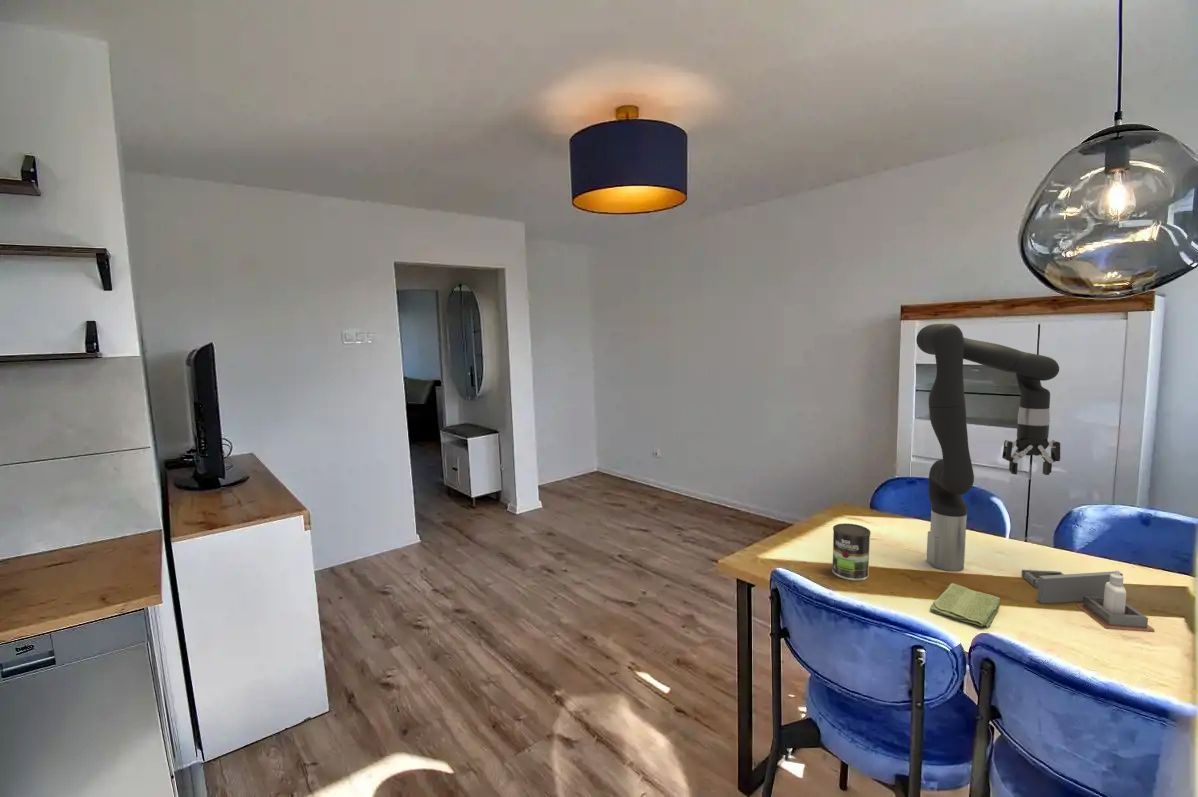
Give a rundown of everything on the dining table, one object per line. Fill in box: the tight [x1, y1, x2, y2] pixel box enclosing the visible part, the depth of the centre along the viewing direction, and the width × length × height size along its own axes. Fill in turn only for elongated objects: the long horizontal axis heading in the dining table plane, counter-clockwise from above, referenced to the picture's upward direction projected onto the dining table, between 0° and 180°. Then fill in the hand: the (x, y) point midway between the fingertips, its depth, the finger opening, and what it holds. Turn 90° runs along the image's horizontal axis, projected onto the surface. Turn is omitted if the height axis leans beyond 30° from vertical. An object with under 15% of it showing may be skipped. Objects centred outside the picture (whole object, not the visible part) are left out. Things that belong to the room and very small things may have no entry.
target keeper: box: [1076, 596, 1155, 632], centre depth 135 cm, size 10×11×3 cm
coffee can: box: [831, 523, 871, 582], centre depth 164 cm, size 10×10×14 cm
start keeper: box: [1021, 569, 1064, 590], centre depth 154 cm, size 10×8×2 cm
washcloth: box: [929, 583, 1001, 629], centre depth 142 cm, size 13×18×3 cm
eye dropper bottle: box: [1103, 569, 1127, 614], centre depth 135 cm, size 4×6×12 cm
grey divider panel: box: [1037, 570, 1124, 604], centre depth 144 cm, size 22×2×7 cm, turn 93°
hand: (1029, 474), depth 165 cm, fingers open, 8 cm apart
